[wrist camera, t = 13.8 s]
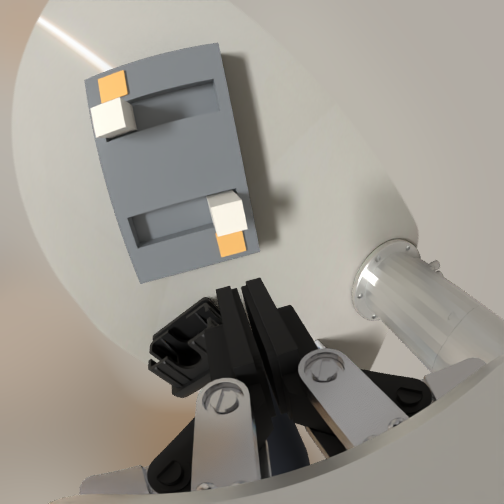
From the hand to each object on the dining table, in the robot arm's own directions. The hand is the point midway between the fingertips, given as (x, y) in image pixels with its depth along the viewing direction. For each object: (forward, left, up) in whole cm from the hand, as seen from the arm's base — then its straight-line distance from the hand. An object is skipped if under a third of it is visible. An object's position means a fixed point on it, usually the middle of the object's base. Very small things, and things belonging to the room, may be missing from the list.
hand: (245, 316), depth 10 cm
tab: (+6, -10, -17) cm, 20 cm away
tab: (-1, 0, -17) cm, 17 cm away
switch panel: (+2, -5, -18) cm, 19 cm away
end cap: (+5, +15, -19) cm, 24 cm away
